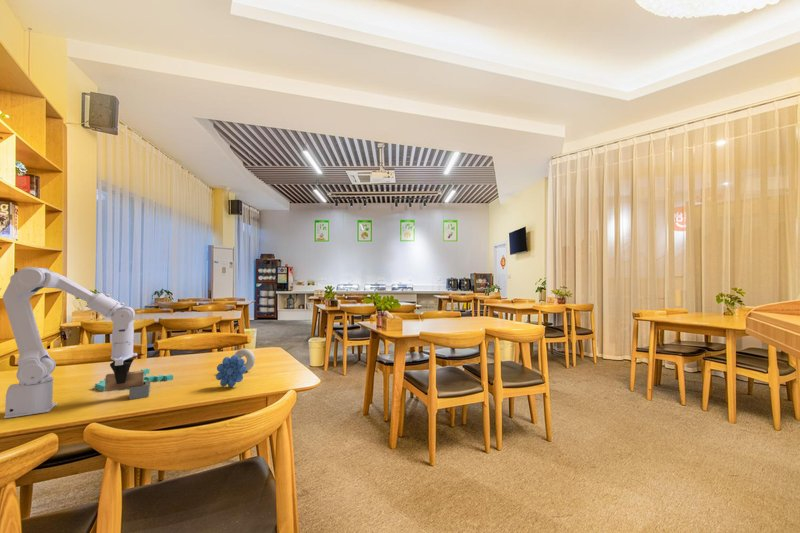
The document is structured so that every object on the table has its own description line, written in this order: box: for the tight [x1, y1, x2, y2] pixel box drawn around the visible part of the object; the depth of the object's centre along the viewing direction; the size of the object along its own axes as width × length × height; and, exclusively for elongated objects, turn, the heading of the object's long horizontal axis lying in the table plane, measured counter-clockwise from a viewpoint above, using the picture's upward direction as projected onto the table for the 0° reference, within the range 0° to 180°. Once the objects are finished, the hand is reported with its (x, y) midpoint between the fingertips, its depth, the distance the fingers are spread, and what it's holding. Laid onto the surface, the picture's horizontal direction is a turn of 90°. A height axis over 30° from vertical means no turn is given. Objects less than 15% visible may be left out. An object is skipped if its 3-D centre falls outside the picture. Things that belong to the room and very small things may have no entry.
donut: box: [234, 347, 256, 372], centre depth 149 cm, size 10×3×10 cm, turn 80°
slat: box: [104, 370, 145, 392], centre depth 116 cm, size 10×2×5 cm, turn 122°
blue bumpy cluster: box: [215, 354, 247, 388], centre depth 129 cm, size 12×7×12 cm, turn 87°
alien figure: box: [94, 368, 174, 392], centre depth 132 cm, size 20×2×20 cm
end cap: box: [128, 381, 151, 400], centre depth 118 cm, size 5×6×4 cm
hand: (121, 382), depth 115 cm, fingers closed on slat, 2 cm apart
